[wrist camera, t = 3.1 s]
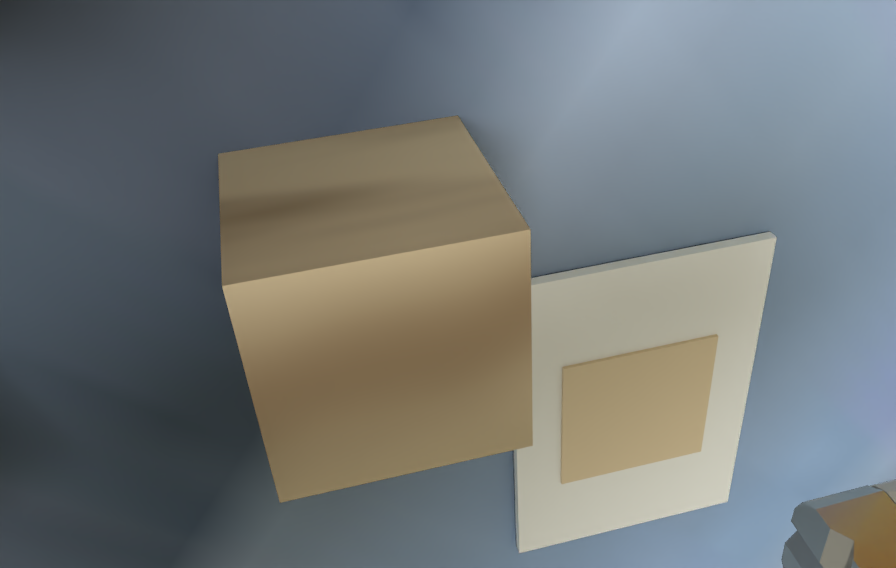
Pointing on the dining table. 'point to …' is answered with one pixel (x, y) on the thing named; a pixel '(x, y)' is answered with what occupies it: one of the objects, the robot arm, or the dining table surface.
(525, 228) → the oak cube
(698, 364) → the card
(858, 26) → the dining table surface
